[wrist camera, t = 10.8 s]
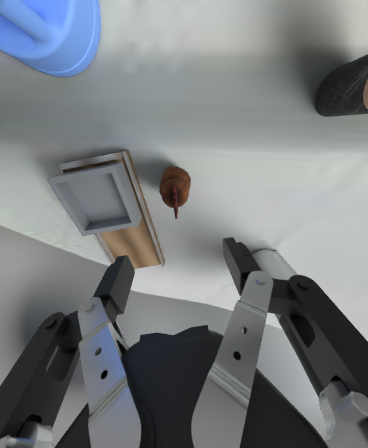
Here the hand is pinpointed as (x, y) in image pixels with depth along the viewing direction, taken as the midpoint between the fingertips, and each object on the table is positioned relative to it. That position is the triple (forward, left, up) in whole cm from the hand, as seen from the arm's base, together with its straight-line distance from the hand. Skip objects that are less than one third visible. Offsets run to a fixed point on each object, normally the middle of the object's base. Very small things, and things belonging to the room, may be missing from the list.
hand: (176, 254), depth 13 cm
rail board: (+15, +8, -25) cm, 30 cm away
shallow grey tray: (+15, 0, -24) cm, 28 cm away
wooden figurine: (0, 0, -25) cm, 25 cm away
